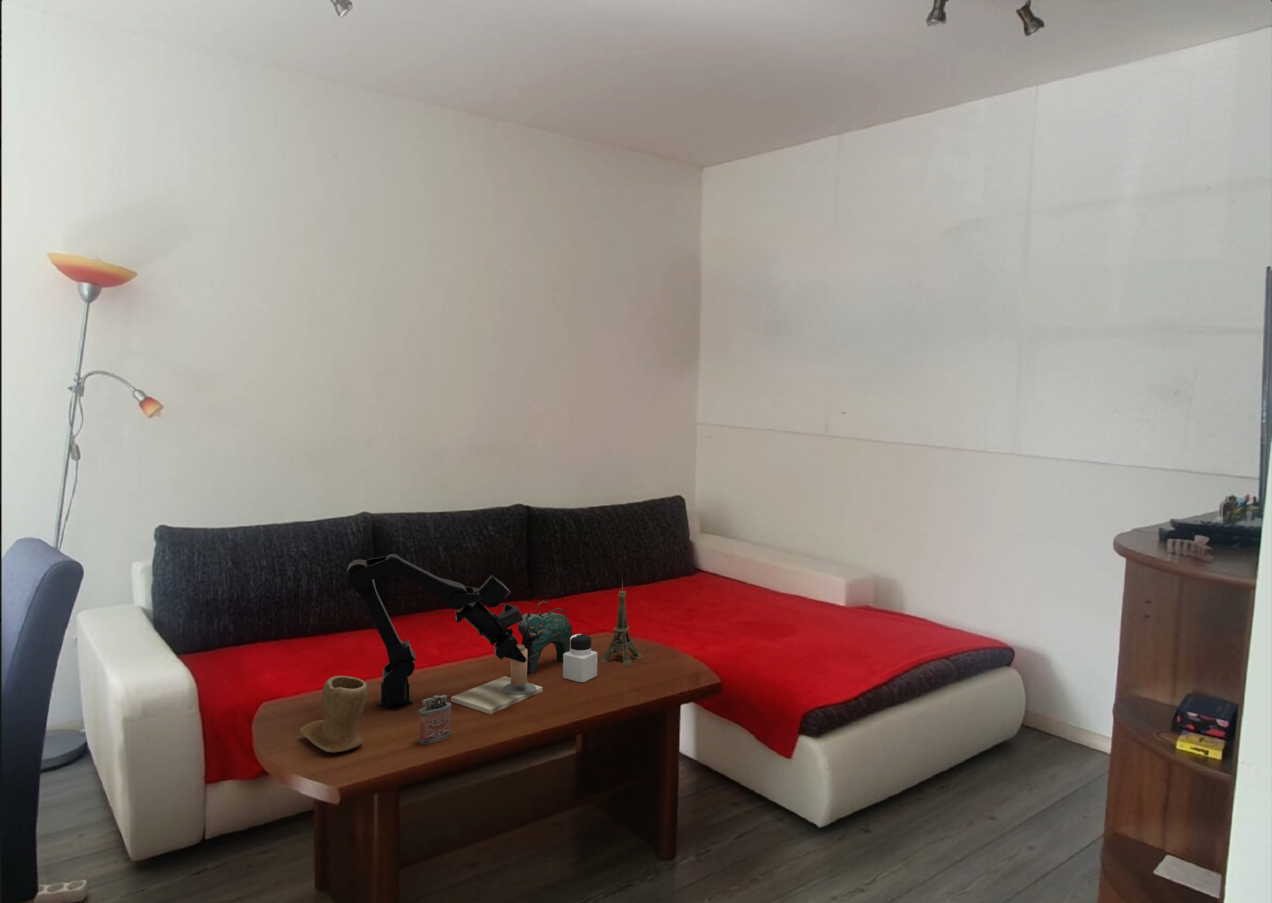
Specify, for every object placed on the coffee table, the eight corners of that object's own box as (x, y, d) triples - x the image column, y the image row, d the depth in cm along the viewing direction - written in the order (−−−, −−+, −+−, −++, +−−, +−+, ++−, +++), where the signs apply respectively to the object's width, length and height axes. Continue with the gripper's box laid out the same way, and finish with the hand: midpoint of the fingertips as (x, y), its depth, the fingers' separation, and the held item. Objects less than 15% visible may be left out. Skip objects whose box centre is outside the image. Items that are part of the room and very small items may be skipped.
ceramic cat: (528, 677, 239) (528, 608, 238) (512, 672, 243) (512, 603, 242) (575, 660, 255) (576, 595, 253) (560, 655, 259) (561, 591, 257)
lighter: (446, 731, 201) (446, 690, 200) (454, 735, 199) (454, 694, 198) (416, 740, 196) (416, 698, 195) (423, 745, 193) (423, 702, 192)
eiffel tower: (612, 652, 263) (614, 573, 262) (643, 657, 259) (645, 576, 257) (597, 662, 254) (599, 580, 252) (629, 667, 250) (631, 584, 248)
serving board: (491, 714, 212) (491, 709, 212) (451, 701, 220) (451, 696, 220) (544, 691, 228) (544, 686, 228) (504, 680, 236) (504, 675, 236)
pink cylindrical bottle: (523, 686, 224) (524, 649, 223) (508, 684, 225) (508, 647, 224) (529, 680, 228) (529, 644, 227) (513, 679, 229) (514, 643, 228)
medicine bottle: (597, 676, 241) (598, 635, 240) (582, 683, 235) (583, 641, 234) (577, 671, 245) (578, 630, 244) (562, 678, 239) (562, 636, 238)
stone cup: (376, 746, 192) (376, 681, 191) (325, 761, 184) (324, 694, 183) (348, 725, 203) (348, 664, 202) (298, 738, 195) (298, 675, 194)
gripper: (509, 606, 214) (552, 646, 218) (500, 589, 232) (539, 626, 236) (478, 639, 213) (521, 678, 217) (471, 619, 231) (510, 655, 235)
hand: (524, 658), depth 226 cm, fingers closed on pink cylindrical bottle, 4 cm apart
